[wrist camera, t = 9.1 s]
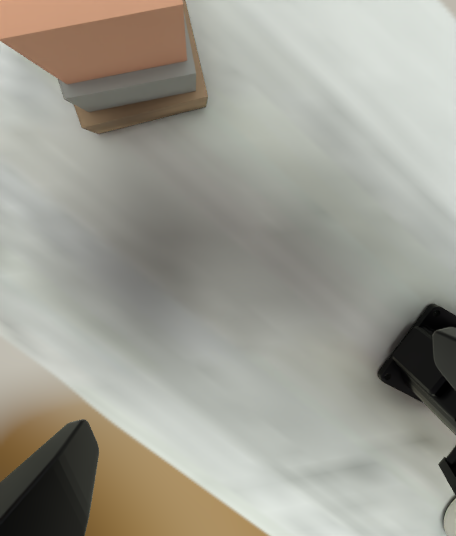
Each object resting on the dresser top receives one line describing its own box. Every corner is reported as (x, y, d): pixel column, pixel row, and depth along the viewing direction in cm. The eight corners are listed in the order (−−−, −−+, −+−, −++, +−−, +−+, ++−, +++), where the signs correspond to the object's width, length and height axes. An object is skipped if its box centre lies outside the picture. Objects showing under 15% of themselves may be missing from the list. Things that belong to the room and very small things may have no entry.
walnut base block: (174, -21, 17) (170, -61, 14) (205, 107, 18) (207, 96, 15) (56, 7, 16) (27, -27, 14) (99, 134, 18) (81, 127, 15)
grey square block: (169, -41, 14) (162, -94, 11) (195, 91, 15) (196, 73, 13) (50, -18, 14) (11, -68, 11) (88, 112, 15) (64, 99, 12)
